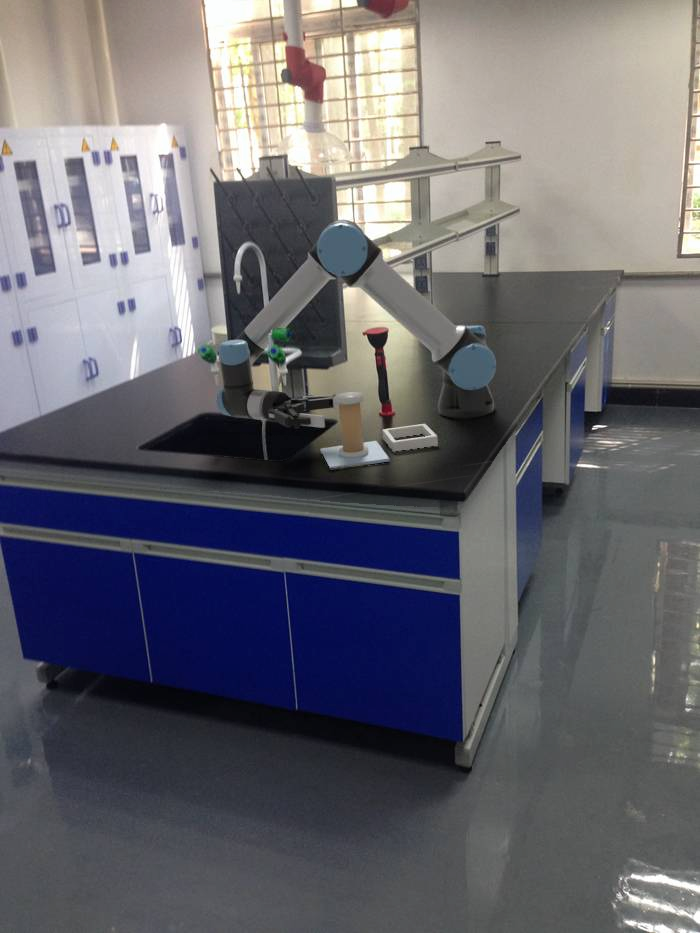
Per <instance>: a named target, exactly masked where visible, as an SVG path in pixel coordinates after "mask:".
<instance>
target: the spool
mask: <svg viewBox="0 0 700 933" xmlns="http://www.w3.org/2000/svg"><path fill="white" fill-rule="evenodd" d="M363 401H365V395H364V393H362V392H359V391H350V392H349V391H348V392H343V393H342V392H341V393H338V394H336V395H335V396H334V403H336V404H339V410H338V412H339V421H340V422H339V423H340V430H341V431H340V432H341V443H342V444H341V446H342V445H343V447H341V448H340V449H339V455H340V456H341V457H344V458H357V457H362V456H365V455H367V454H368V447H367V446H366V445H364V443H363V442H364V434H363V432H364V431H363V420H362V419H363V418H362V408H361V402H363Z"/></svg>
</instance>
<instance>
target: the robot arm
mask: <svg viewBox="0 0 700 933" xmlns="http://www.w3.org/2000/svg"><path fill="white" fill-rule="evenodd" d="M383 253H384V252H383V250H382V249H381V248H380V247H379V246H378V245H377V244H376V243H375V242H374V241H373V240H372V239H371V238H370V237H369V236H368V235H366V233H364V230H363V229H362V228H361V227H360V226H359V224H356V223H355V222H353V221H351V220H347V219H337V220H334V221H332V222H331V223H329V224H327V226H326V227H325V228H324V229H323V230H322V232H321V234H320V235H319V236H318V239H317V241H316V242H315V244H314V245H313V246H312V247H311V248H310V250H309V251H308V252H307V259H306V261H304V262H303V263H302V264H301V265H300V267H299V268H298V269H297V270H296V271H295V272H294V273H293V274H292V276H291V277H290V278H289V279H288V280H287V281H286V283H285V284H284V285H283V286H282V287H281V288H280V289H279V290H278V292H276V294H275V295H274V296H273V297H272V298H271V299H270V300H269V301H268V303H266V305H265V306H264V307H263V308H262V309H261V311H260V312H259V313H258V314H257V315H256V316H255V317H254V318H253V319H252V321H250V323H249V324H248V325H247V326H246V327H245V328H244V329H243V331H242V332H241V333H240V334H239V335H238V336H237V337H236V338H235V339H230V340H226V341H224V342H220V343H219V345H218V354H219V355H218V360H219V363H220V370H221V376H222V377H221V379H222V383H223V385H222V386H223V387H222V388H220V389H219V390H218V393H217V394H216V400H215V404H216V408H217V410H218V411H219V412H220V413H221V414H222V415H225V416H228V417H233V418H236V419H237V418H241V419H249V420H250V419H251V420H252V419H253V420H260V421H261V422H262V423H264V422H266V421H267V422H272V423H273V422H275V423H278V424H280V425H282V426H284V427H286V428H290V429H291V428H293V426H294V429H297V430H298V429H300V426H303V427H314V428H321V429H322V428H325V427H326V423H325V416H324V415H323V414H322V415H321V414H320V415H319V414H312V413H311V414H310V411H316V410H325V409H333V410H338V411H339V404H336V403H334V396H335V395H337V394H336V393H333V394H327V395H326V394H325V395H324V394H323V395H300V396H299V398H296V397H294V398H293V397H292V398H291V397H289V395H288V394H287V393H286V392H284V391H276V390H275V391H274V390H268V389H257V388H256V389H255V388H254V380H253V372H252V366H254V362H256V361H257V360H258V359H259V357H260V356H261V355H262V354H263V353H264V352H265V350H266V349H267V348H268V347H269V346H270V345H269V338H268V334H269V333H271V330H274V329H277V328H284V329H286V327H287V326H289V324H291V322H292V321H293V320H294V319H295V318H296V317H297V316H298V315H299V313H300V312H301V311H302V310H303V309H304V308H306V306H307V305H308V304H309V302H311V301H312V299H314V297H315V296H316V295H317V294H318V293H319V291H321V289H323V288H324V286H325V285H326V284H327V283H328V282H330V280H336V279H337V278H339V279H340V280H342V282H343V283H345V284H346V285H347V286H348V287H349V288H352V289H353V288H354V289H355V288H359V289H361V290H362V291H363V292H364V293H365V294H367V296H369V297H370V298H371V299H372V300H373V301H374V302H375V303H376V304H378V305H379V307H381V308H382V309H383V310H385V312H387V314H388V315H390V316H391V317H392V318H393V319H394V320H395V321H397V323H399V325H401V326H403V328H405V329H406V330H407V332H409V333H410V334H411V335H413V337H414V338H416V340H418V341H419V342H420V343H421V344H422V345H423V346H425V348H427V349H428V350H429V351H430V353H431V360H432V362H433V363H435V365H437V366H438V367H439V368H440V369H441V370H442V388H441V392H440V395H439V399H438V403H437V413H438V412H439V413H438V415H440V414H441V415H440V416H442V415H443V417H445V416H446V417H445V418H449V417H452V418H451V419H475V418H480V417H481V418H482V417H483V416H487V415H490V414H492V413H493V412H494V411H495V401H494V399H493V398H494V397H493V394H492V393H491V389H490V388H489V385H488V384H489V383H491V381H492V379H493V378H494V376H495V374H496V371H497V360H496V356H495V353H494V352H493V350H492V349H491V348H490V347H489V346H488V345H487V343H486V342H487V341H486V337H487V334H486V329H485V327H484V326H483V325H464V324H459V325H455V324H454V323H453V322H452V321H451V320H450V319H449V318H447V316H445V315H444V314H443V313H442V312H441V311H440V310H439V309H438V308H436V306H434V305H433V304H432V303H431V302H430V301H429V300H428V299H426V298H425V297H424V296H423V295H422V294H421V293H420V292H419V291H418V290H417V289H416V288H415V287H414V286H412V285H411V284H410V283H409V282H408V281H407V280H406V279H405V278H404V277H403V276H401V275H400V274H399V273H398V272H397V271H396V270H395V269H394V268H393V267H391V266H390V265H389V263H387V262H386V261H385V260H384V258H383V255H384V254H383ZM325 270H326V271H325ZM268 345H269V346H268Z"/></svg>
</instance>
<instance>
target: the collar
mask: <svg viewBox="0 0 700 933" xmlns="http://www.w3.org/2000/svg"><path fill="white" fill-rule="evenodd" d="M420 434H423V435H424V436H425V437H424V436H423V435H422V436H421V435H420ZM413 435H417V437H414V436H413ZM406 436H410V437H412V438H407V437H406ZM418 436H419V437H418ZM399 437H403V438H404V439H400V438H399ZM394 438H396V439H399V440H396V439H394ZM382 440H383V441H384V442H385V443H386V445H387V444H388V445H387V446H388V447H389V449H390V450H391V449H392V450H391V451H392V452H393V453H396V452H395V451H399V452H402V451H401V450H406V451H411V450H410V449H413V450H418V449H417V448H420V449H425V448H424V447H427V448H432V447H431V446H434V447H438V446H439V443H438V442H439V441H438V435H437V433H435V432H434V431H433V430H432V429H431V428H430V427H429V426H428V425H427V424H426V423H420V424H412V425H407V426H406V425H404V426H398V427H391V428H385V429H382Z"/></svg>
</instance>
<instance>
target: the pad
mask: <svg viewBox="0 0 700 933" xmlns="http://www.w3.org/2000/svg"><path fill="white" fill-rule="evenodd" d="M363 443H364V445H366V446H367V447H368V454H367V455H365V456H362V457H357V458H344V457H341V456H340V455H339V449H340V448H341V447H343V445H342V444H341V445H337V446H329V447H321V448H320V449H319V450H320V454H321V453H322V454H323V456H324V458H325V460H326V462H327V464H328V466H329V468H337V467H344V466H353V465H360V464H372V463H373V464H374V463H381V462H388V461H390V458H389V456H388V455H387V453H386V452H385V451H384V449H383V448H382V446H381V445H380V444H379V442H378V441H377V440H372V441H366V442H364V441H363ZM322 454H321V455H322ZM323 456H322V457H323ZM324 458H323V459H324ZM325 460H324V461H325ZM326 462H325V463H326ZM327 464H326V465H327ZM328 466H327V467H328ZM329 468H328V469H329Z"/></svg>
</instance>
